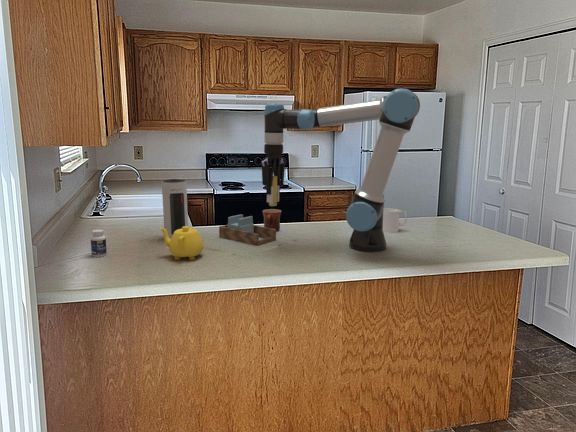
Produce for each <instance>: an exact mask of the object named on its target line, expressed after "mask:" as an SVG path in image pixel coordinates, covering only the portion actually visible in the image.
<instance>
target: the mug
mask: <svg viewBox="0 0 576 432" xmlns="http://www.w3.org/2000/svg"><path fill="white" fill-rule="evenodd" d="M281 213H282V210H281V209H276V208H269V209H267V208H266V209H263V210H262V215H263V227H266V228H272V229H276V232H280V230H281V222H280V221H281V220H280V219H281Z"/></svg>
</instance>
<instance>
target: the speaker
mask: <svg viewBox="0 0 576 432" xmlns="http://www.w3.org/2000/svg"><path fill="white" fill-rule="evenodd" d="M187 189H188V188H187V180H186V179H177V178H170V179H165V180H161V193H162V194H161V195H162V212H163V228H164V229H166V230H167V233H168V237H169V238H170V239H171V238H172V236H173V234H174V232H175V231H176V230H178V229H182V227H183V226H188V227H189V216H188V215H189V214H188V213H189V212H188V194H187V193H188V190H187Z"/></svg>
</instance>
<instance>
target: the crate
mask: <svg viewBox="0 0 576 432" xmlns="http://www.w3.org/2000/svg"><path fill="white" fill-rule="evenodd" d="M253 218H254V217H253V215H250V216H245V217H244V214H237V215H232V216H228V217H227V224H226V225H227V228H232V229H237V230H242V231H246V232H251V233H254V225H255V224H254V220H253Z"/></svg>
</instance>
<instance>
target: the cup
mask: <svg viewBox="0 0 576 432" xmlns="http://www.w3.org/2000/svg"><path fill="white" fill-rule="evenodd" d="M400 213H404V216H405V217H404V222H403V223H400ZM407 219H408V215H407V211H406V209H405V210H403V209H397V208H392V207H391V208H389V207H388V208H387V207H386V208H385V207H384V211H383V233H389V234H390V233H397V232H399V227H404V226H406V224H407Z"/></svg>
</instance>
